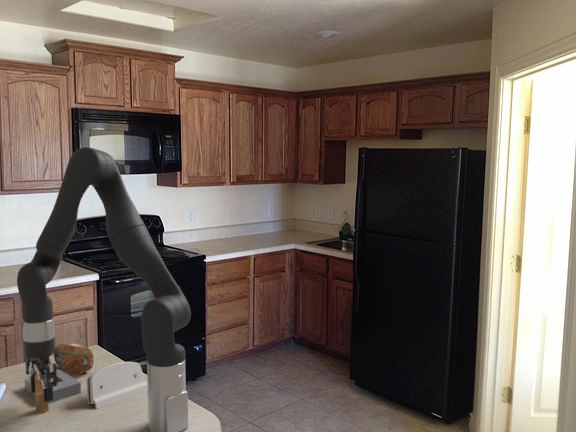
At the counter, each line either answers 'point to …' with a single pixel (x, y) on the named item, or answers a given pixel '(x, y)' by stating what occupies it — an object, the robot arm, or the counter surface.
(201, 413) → the counter surface
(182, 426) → the robot arm
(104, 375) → the hinge
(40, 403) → the peg
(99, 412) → the counter surface
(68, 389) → the hole block
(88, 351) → the tin
